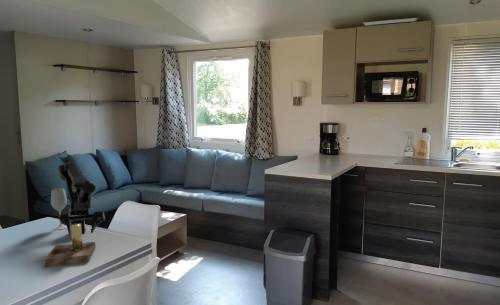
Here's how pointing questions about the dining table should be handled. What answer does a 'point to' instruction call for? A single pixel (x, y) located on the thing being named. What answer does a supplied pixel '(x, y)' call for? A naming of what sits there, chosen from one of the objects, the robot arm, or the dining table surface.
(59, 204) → the wineglass
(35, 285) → the dining table surface
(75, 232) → the peg
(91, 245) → the keyhole board
